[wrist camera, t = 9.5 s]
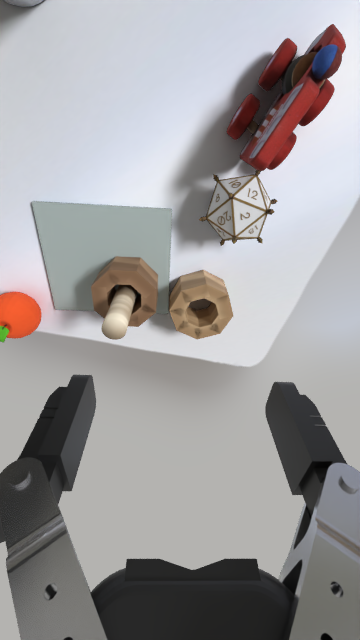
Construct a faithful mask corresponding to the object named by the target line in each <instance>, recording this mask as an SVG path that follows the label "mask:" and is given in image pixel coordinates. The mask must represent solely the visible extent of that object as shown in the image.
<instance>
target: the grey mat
mask: <svg viewBox="0 0 360 640" xmlns="http://www.w3.org/2000/svg"><path fill="white" fill-rule="evenodd" d="M32 206H33V211H34V215H35V220H36V224H37V229H38V233H39V238H40V243H41V247H42V252H43V256H44V261H45V265H46V270H47V274H48V279H49V283H50V288H51V292H52V297H53V301H54V306H55V310H80V311H95V310H94V306H93V299H92V291H91V286H92V284H93V282H94V281H95V279H96V277H97V276H98V274H99V272H100V271H101V270H102V269H103V268H104V267H105V266H106V265H107V264H108V263H109V262H110V261H111V260H112V259H113V258H115V257H116V256H119V257H140V258H142V259H143V260H144V261H145V262H146V263H147V264H148V265H149V266H150V267H151V268H152V269H153V270H154V271H155V272H156V273H157V274H158V298H157V307H156V313H157V314H168V301H169V275H170V248H171V221H172V209H166V208H148V207H130V206H112V205H94V204H76V203H58V202H40V201H33V202H32ZM118 286H119V284H116V285H115V290H116V291H117V289H118ZM139 295H140V293H139V292H138V291H137V294H136V298H137V297H138V296H139Z"/></svg>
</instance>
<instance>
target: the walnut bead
mask: <svg viewBox="0 0 360 640" xmlns="http://www.w3.org/2000/svg"><path fill="white" fill-rule="evenodd" d="M116 284H120V285H131V286H132V287H134V288H135V289H136V290H137V291H138V292H139V293H140V295H139V296H138V297H137V298H135V302H134V305H133V309H132V313H131V316H130V320H129V324H128V326H135V327H139V326H140V325H141V324H142V323H143V322H145V321H146V320H147V319H148V318H150V317H151V316H152V315H153V314H155V313H156V307H157V298H158V274H157V273H156V272H155V271H154V270H153V269H152V268H151V267H150V266H149V265H148V264H147V263H146V262H145V261H144V260H143V259H142V258H140V257H119V256H116V257H115V258H113V259H112V260H111V261H110V262H109V263H108V264H107V265H106V266H105V267H104V268H103V269H102V270H101V271H100V272H99V274H98V276H97V277H96V279H95V281H94V282H93V284H92V286H91V291H92V299H93V306H94V310H95V311H96V312H97V313H98V314H100V315H101V316H102V317H103V318H105V317H106V315H107V312H108V310H109V308H110V305H111V303H112V301H113V298H114V296H115V293H116V290H115V285H116Z"/></svg>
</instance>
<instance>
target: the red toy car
mask: <svg viewBox="0 0 360 640" xmlns="http://www.w3.org/2000/svg"><path fill="white" fill-rule="evenodd" d="M345 48H346V44H345V41H344V39H343V36H342V34H341V33H340V32H339V30H338V29H337V28H336V27H335V25H334V24H332V25H330V26H329V27H328V28H327V29H326V30H325V31H324V32H322V33H321V34H320V35H319V36H318V37H317V38H316V39H315V40H314V41H313V42H312V44H311V45H310V47H309V48H308V50H307V51H306V53H305V54H304V55H303V56H300V57H298V58H297V59H295V60H294V61H293V62H292V59H293V58H294V56H295V54H296V51H297V46H296V45H295V44H294V43H293V42H292V41H291V40H290V39H289V38H287V39H285V40H284V41H283V42H282V44H281V45H280V46H279V48H278V49H277V50H276V52H275V53H274V55H273V56H272V58H271V59H270V61H269V62H268V64H267V66H266V67H265V69H264V71H263V73H262V74H261V76H260V78H259V81H258V83H259V85H260V86H261V87H262V88H263V89H264V90H265V91H267V92H268V91H270V90H271V89H272V87H274V85H275V84H276V83H277V82H278V80H279V79H281V80H282V89H281V91H280V93H279V94H278V96H277V97H276V99H275V100H274V102H273V103H272V105H271V106H270V108H269V110H268V111H267V113H266V114H265V116H264V118H263V119H262V121H261V122H260V123H259V125H258V124H257V123H256V122H255V121H254V120H253V118H254V116H255V114H256V112H257V111H258V109H259V107H260V101H259V100H258V99H257V98H256V97H255V96H254V95H253V94H249V95H248V96H247V97H246V98H245V100H244V101H243V102H242V104H241V105H240V107H239V108H238V110H237V112H236V113H235V115H234V117H233V118H232V120H231V122H230V124H229V126H228V128H227V134H228V135H229V136H231V137H232V138H233V139H234V140H237V139H239V138H240V136H241V135H242V134H243V133H244V132H245V130H246V129H247V130H249V131H250V132H251V133H252V135H251V137H250V139H249V141H248V142H247V144H246V145H245V147H244V148H243V150H242V152H241V154H240V159H242V160H243V161H245V162H246V163H247V164H250V165H251V166H252V167H254V168H255V169H256V170H259V171H263V170H265V169H266V168H268V169H270V170H272V169H274V168H276V167H277V166H279V165H280V164H281V163H282V162H283V161H284V159H285V158H286V157H287V156H288V154H289V153H290V151H291V150H292V148H293V146H294V145H295V142H296V139H297V137H296V135H295V134H294V133H293V130H294V129H295V128H296V126H297V125H298V124H299V125H301V126H306V125H307V124H309V123H310V122H311V121H313V120H314V119H315V118H316V117H317V116H318V115H319V114H320V112H321V111H322V110H323V109H324V108H325V106H326V105H327V103H328V102H329V100H330V99H331V97H332V95H333V93H334V86H333V85H332V84H331V83H330V81H329V80H328V79H327V78H329V77H331V76H332V75H333V74H334V73H335V72H336V71H337V70H338V68H339V66H340V64H341V61H342V54H343V52H344V50H345Z"/></svg>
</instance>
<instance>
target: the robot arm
mask: <svg viewBox="0 0 360 640" xmlns="http://www.w3.org/2000/svg"><path fill="white" fill-rule="evenodd" d="M4 1H6V2H8V3H10V4H12V5H16V6H20V7H27V6H34V5H36V4H39V3H41V2H42V1H43V0H4ZM95 408H96V398H95V391H94V384H93V377H92V376H91V375H73V376H72V377H71V380H70V382H69V384H68V386H67V387H59V388H57V389H56V390H55V391H54V392H53V393H52V394H51V395H50V397H49V398H48V400H47V402H46V404H45V406H44V410H42V413H41V414H40V418H39V419H38V421H37V423H36V425H35V427H34V429H33V431H32V433H31V435H30V437H29V439H28V441H27V443H26V445H25V447H24V449H23V451H22V453H21V455H20V457H19V458H18V459H17V461H15V462H13V463H11V464H10V465H8V466H7V467H6V468H5V469H4V470H3V471H2V472H1V473H0V543H1V542H4V541H6V546H7V551H8V557H7V559H6V566H7V573H8V578H9V583H10V588H11V593H12V598H13V603H14V607H15V612H16V618H17V623H18V627H19V632H20V637H21V640H360V472H359V471H358V470H356V469H355V468H353V467H352V466H350V465H348V464H347V463H346V461H345V460H344V458H343V456H342V454H341V452H340V450H339V448H338V447H337V445H336V443H335V441H334V440H333V437H332V435H331V434H330V432H329V430H328V428H327V427H326V426H325V425H326V424H325V422H324V421H323V419H322V418H321V415H320V413H319V412H318V410H317V408H316V406H315V404H314V403H313V402H312V401H311V400H310V399H309V398H308V397H307V396H306V395H300V394H299V392H298V390H297V388H296V386H295V385H294V383H291V382H274V384H273V386H272V389H271V392H270V395H269V397H268V400H267V403H266V418H267V421H268V424H269V427H270V430H271V433H272V436H273V439H274V442H275V445H276V448H277V451H278V454H279V457H280V460H281V463H282V465H283V468H284V471H285V474H286V477H287V480H288V483H289V486H290V489H291V492H292V495H303V497H304V500H305V504H304V507H303V510H302V513H301V516H300V519H299V523H298V526H297V529H296V533H295V536H294V539H293V542H292V546H291V549H290V552H289V554H288V557H287V559H286V561H285V563H284V565H283V568H282V570H281V573H280V576H279V579H276V578H275V577H273V576H272V575H270V574H269V573H267V572H265V571H263V570H261V569H258V564H257V559H224V560H221V561H218V562H215V563H213V564H210V565H207V566H204V567H202V568H199V569H196V570H190V569H187V568H184V567H181V566H178V565H175V564H172V563H169V562H167V561H164V560H161V559H127V562H126V568H124V569H122V570H119V571H117V572H115V573H113V574H112V575H110V576H109V577H107V578H106V579H104V580H103V581H102V582H101V583H100V584H99V585H97V586H96V587H95V588H94V589H93V591H92V592H90V589H89V586H88V584H87V581H86V578H85V576H84V573H83V571H82V568H81V565H80V562H79V560H78V557H77V554H76V552H75V549H74V547H73V544H72V541H71V539H70V536H69V533H68V530H67V528H66V525H65V522H64V520H63V517H62V514H61V512H60V509H59V507H58V503H59V500H60V497H61V494H62V491H72V488H73V484H74V481H75V477H76V474H77V471H78V467H79V464H80V461H81V457H82V454H83V450H84V447H85V444H86V440H87V437H88V433H89V430H90V427H91V423H92V420H93V417H94V413H95Z"/></svg>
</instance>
